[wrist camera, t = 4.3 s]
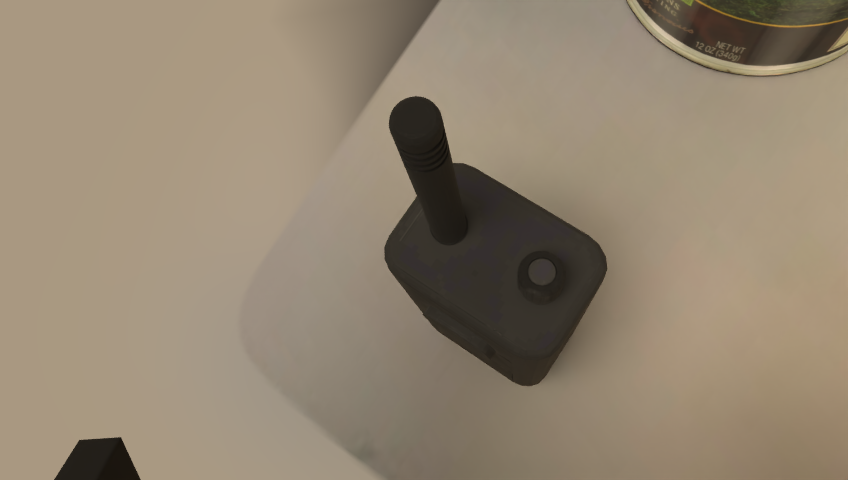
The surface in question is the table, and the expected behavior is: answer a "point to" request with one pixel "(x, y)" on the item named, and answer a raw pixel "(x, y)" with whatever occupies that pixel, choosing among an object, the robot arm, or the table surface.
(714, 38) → the coffee can
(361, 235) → the table surface
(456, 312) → the walkie-talkie
